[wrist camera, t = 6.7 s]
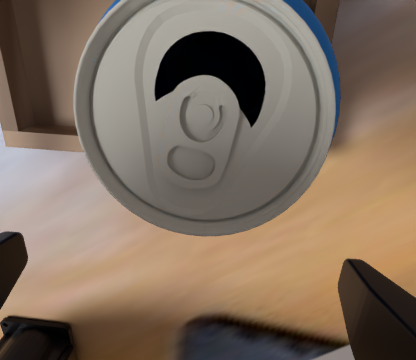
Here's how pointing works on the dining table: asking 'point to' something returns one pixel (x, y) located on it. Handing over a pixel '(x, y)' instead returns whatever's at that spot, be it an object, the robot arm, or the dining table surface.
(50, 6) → the tray
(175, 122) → the beverage can
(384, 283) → the robot arm
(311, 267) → the dining table surface
